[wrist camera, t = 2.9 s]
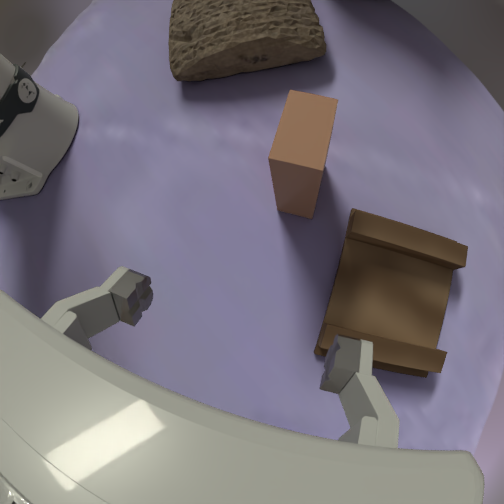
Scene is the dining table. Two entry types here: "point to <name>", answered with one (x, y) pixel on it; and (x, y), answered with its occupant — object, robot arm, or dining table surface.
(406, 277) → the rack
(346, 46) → the dining table surface
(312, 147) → the clay block
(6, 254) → the dining table surface
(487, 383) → the dining table surface
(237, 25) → the stone tablet
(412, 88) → the dining table surface
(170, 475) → the robot arm
